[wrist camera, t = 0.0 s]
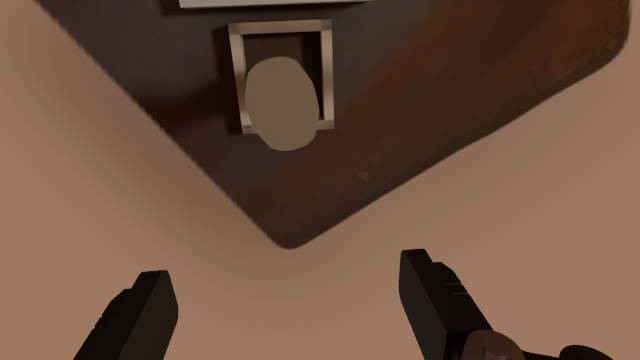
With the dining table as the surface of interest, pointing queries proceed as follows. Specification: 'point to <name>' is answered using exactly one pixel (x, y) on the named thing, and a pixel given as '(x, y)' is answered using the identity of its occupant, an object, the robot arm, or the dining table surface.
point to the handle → (282, 103)
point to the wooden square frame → (280, 27)
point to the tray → (252, 3)
